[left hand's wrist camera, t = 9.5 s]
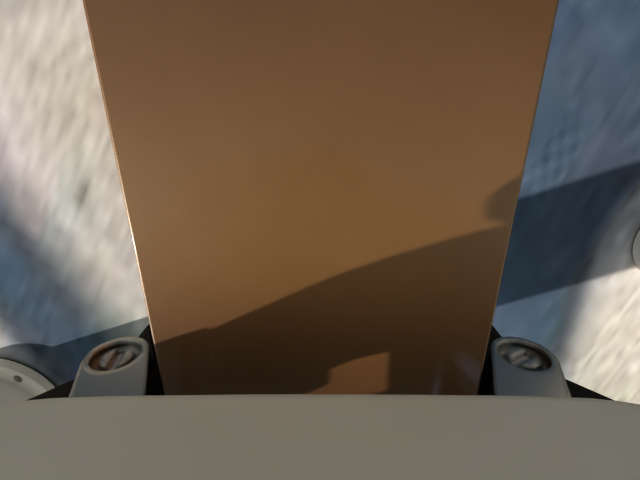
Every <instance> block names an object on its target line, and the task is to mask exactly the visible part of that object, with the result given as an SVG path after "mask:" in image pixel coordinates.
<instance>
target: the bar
mask: <svg viewBox="0 0 640 480" xmlns="http://www.w3.org/2000/svg"><path fill="white" fill-rule="evenodd" d="M558 3H559V0H83V4H84V9H85V14H86V19H87V23H88V28H89V33H90V38H91V43H92V48H93V52H94V57H95V62H96V67H97V72H98V77H99V81H100V86H101V91H102V96H103V101H104V106H105V110H106V115H107V120H108V125H109V130H110V135H111V139H112V144H113V149H114V154H115V159H116V164H117V168H118V173H119V178H120V183H121V188H122V192H123V197H124V202H125V207H126V212H127V217H128V221H129V226H130V231H131V236H132V241H133V246H134V250H135V255H136V260H137V265H138V270H139V275H140V279H141V284H142V289H143V294H144V299H145V304H146V308H147V313H148V318H149V323H150V328H151V332H152V337H153V342H154V347H155V352H156V357H157V361H158V366H159V371H160V376H161V381H162V386H163V390H164V395H244V394H381V395H477V394H478V390H479V385H480V380H481V375H482V370H483V365H484V361H485V356H486V351H487V346H488V341H489V336H490V332H491V327H492V322H493V317H494V312H495V307H496V303H497V298H498V293H499V288H500V283H501V278H502V274H503V269H504V264H505V259H506V254H507V249H508V245H509V240H510V235H511V230H512V225H513V220H514V216H515V211H516V206H517V201H518V196H519V191H520V186H521V182H522V177H523V172H524V167H525V162H526V157H527V153H528V148H529V143H530V138H531V133H532V128H533V124H534V119H535V114H536V109H537V104H538V99H539V95H540V90H541V85H542V80H543V75H544V70H545V66H546V61H547V56H548V51H549V46H550V41H551V37H552V32H553V27H554V22H555V17H556V12H557V8H558Z"/></svg>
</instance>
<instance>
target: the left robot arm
mask: <svg viewBox="0 0 640 480" xmlns="http://www.w3.org/2000/svg"><path fill="white" fill-rule="evenodd" d="M0 480H640V405H638V404H633V403H627V402H621V401H614V400H612V399H610V398H608V397H605V396H603V395H601V394H598V393H596V392H594V391H591V390H589V389H587V388H585V387H582V386H580V385H578V384H575V383H573V382H571V381H568V380H566V379H565V377H564V374H563V372H562V369H561V366H560V363H559V361H558V360H557V358H556V356H555V355H554V354H553V353H551V352H550V351H549V350H548V349H546V348H545V347H543V346H541V345H540V344H537V343H535V342H533V341H530V340H527V339H523V338H518V337H501V336H500V334H499V333H498V332H497V331H496V329H495V328H494V327H493V326H492V327H491V332H490V336H489V341H488V346H487V351H486V356H485V361H484V365H483V370H482V375H481V380H480V385H479V390H478V394H477V395H381V394H244V395H164V390H163V386H162V381H161V376H160V371H159V366H158V361H157V357H156V352H155V347H154V342H153V337H152V332H151V328H150V323H149V325H148V326H147V327H146V328H145V330H144V331H143V332H142V333H141V335H140V336H139V337H122V338H117V339H113V340H110V341H107V342H105V343H103V344H100V345H99V346H97V347H95V348H94V349H92V350H91V351H90V352H89V353H87V354H86V355H85V356H84V358H83V360H82V361H81V363H80V366H79V369H78V372H77V374H76V377H75V379H74V380H72V381H69V382H67V383H65V384H63V385H60V386H58V387H56V388H55V386H54V385H53V384H52V383H51V382H50V381H48V380H47V379H46V378H45V377H43V376H42V375H41V374H39V373H37V372H36V371H34V370H33V369H31V368H29V367H26V366H24V365H22V364H20V363H16V362H13V361H10V360H6V359H0Z"/></svg>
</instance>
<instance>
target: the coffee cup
mask: <svg viewBox="0 0 640 480" xmlns="http://www.w3.org/2000/svg"><path fill="white" fill-rule="evenodd" d="M633 259H634V262H635V264H636V266H637V267H638V268H639V269H640V230H639V232H638V234H637V236H636V238H635V241H634V244H633Z"/></svg>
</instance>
